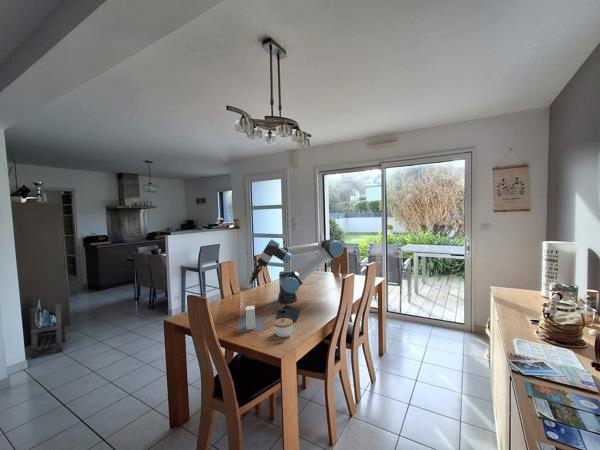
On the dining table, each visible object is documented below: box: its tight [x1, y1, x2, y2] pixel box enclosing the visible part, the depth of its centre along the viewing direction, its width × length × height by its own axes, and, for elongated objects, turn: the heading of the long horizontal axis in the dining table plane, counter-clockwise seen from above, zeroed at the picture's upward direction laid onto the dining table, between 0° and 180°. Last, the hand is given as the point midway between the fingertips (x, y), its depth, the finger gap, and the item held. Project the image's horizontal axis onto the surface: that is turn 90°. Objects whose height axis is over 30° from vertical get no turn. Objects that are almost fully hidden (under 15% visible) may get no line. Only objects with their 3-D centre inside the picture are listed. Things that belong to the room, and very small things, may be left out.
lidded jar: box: [272, 318, 294, 338], centre depth 148 cm, size 11×11×9 cm
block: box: [245, 305, 256, 330], centre depth 158 cm, size 5×6×12 cm
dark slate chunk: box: [275, 304, 301, 324], centre depth 176 cm, size 15×22×5 cm
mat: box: [235, 315, 266, 334], centre depth 164 cm, size 16×22×1 cm
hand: (247, 285), depth 190 cm, fingers open, 13 cm apart
